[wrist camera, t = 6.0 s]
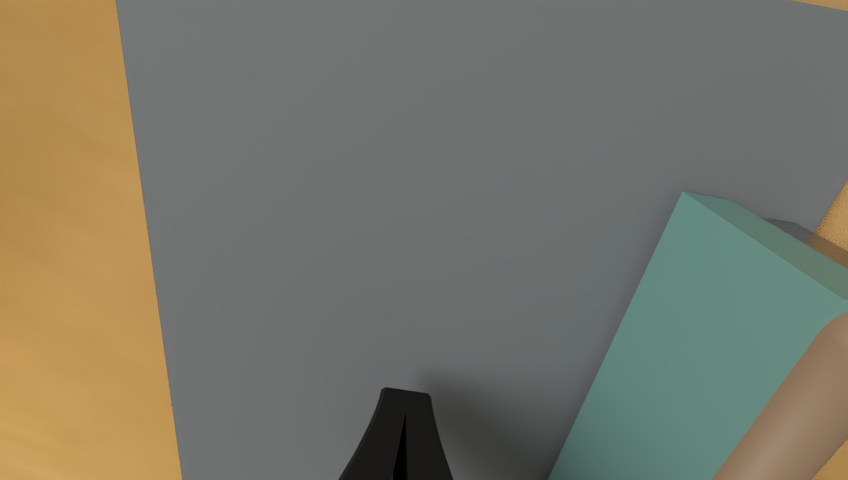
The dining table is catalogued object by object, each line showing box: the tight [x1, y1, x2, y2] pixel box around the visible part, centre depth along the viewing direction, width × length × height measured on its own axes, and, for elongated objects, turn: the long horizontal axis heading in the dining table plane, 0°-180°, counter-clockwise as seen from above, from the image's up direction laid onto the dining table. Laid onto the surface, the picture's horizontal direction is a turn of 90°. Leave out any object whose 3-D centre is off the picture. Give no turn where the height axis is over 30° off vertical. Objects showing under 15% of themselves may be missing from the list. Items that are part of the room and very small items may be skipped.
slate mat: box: [116, 0, 848, 480], centre depth 13 cm, size 21×17×1 cm
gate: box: [548, 191, 848, 480], centre depth 10 cm, size 12×1×5 cm, turn 170°
